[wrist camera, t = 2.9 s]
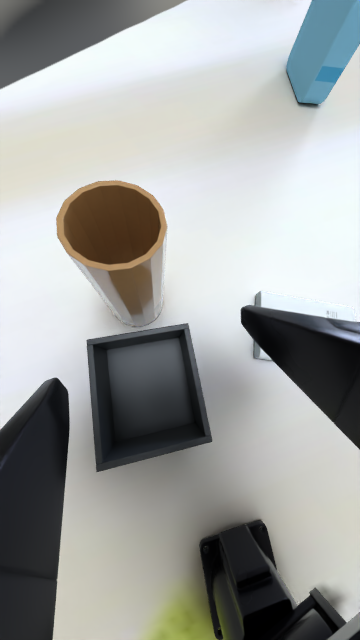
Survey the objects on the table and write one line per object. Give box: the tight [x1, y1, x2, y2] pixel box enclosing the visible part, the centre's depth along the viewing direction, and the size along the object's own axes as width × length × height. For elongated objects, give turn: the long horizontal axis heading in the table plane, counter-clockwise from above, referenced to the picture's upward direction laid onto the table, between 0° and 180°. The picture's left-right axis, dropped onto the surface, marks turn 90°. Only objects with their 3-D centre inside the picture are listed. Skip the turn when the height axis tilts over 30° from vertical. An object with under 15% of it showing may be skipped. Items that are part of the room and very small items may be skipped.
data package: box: [287, 0, 360, 104], centre depth 32 cm, size 12×4×12 cm, turn 6°
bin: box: [87, 323, 212, 472], centre depth 18 cm, size 10×9×5 cm
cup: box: [56, 181, 167, 327], centre depth 17 cm, size 6×6×13 cm
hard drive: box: [254, 291, 356, 361], centre depth 23 cm, size 2×8×12 cm
